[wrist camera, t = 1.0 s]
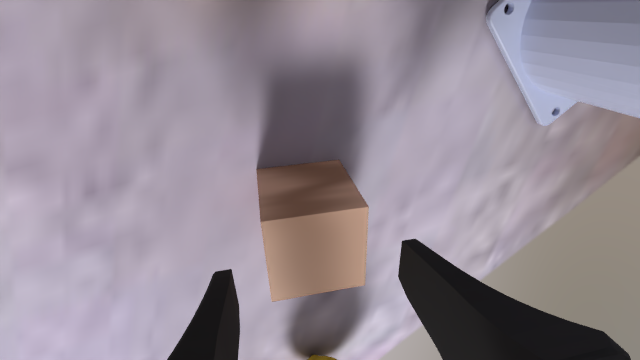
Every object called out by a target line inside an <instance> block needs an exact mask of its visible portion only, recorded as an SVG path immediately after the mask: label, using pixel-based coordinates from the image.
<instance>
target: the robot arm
mask: <svg viewBox="0 0 640 360" xmlns="http://www.w3.org/2000/svg"><path fill="white" fill-rule="evenodd" d="M507 4H508V11H507V12H506V13H504V8H505V6H506V5H507ZM486 22H487V25H488V27H489V29H490V31H491V33H492V35H493V37H494V39H495V41H496V43H497V45H498V47H499V49H500V51H501V53H502V55H503V56H504V58H505V60H506V62H507V64H508V66H509V68H510V70H511V72H512V74H513V76H514V78H515V80H516V82H517V84H518V86H519V88H520V90H521V92H522V94H523V96H524V98H525V100H526V102H527V104H528V106H529V108H530V110H531V112H532V114H533V116H534V118H535V120H536V122H537V123H538V124H541V125H544V126H546V125H549V124H550V123H552V122H553V121H554V120H555V119H557V118H558V117H559V116H560V115H562V114H563V113H564V112H565V111H567V110H568V109H569V108H570V107H571V106H573V105H574V104H575V103H576V102H578V101H580V102H583V103H587V104H590V105H594V106H598V107H601V108H605V109H608V110H612V111H616V112H619V113H623V114H626V115H630V116H634V117H637V118H640V0H499V1H498V2H497V3H496V4H495V5H494V6H493V7H492V8H491V9H490V10H489V11H488V14H487V16H486ZM554 108H555V109H554ZM553 109H554V111H553ZM552 111H553V112H552ZM398 277H399V280H400V282H401V284H402V287H403V289H404V291H405V294H406V296H407V298H408V300H409V301H410V303H411V305H412V307H413V308H414V310H415V312H416V313H417V315H418V317H419V319H420V320H421V322H422V324H423V325H424V327H425V329H426V330H427V332H428V333H429V335H430V337H431V339H432V340H433V342H434V344H435V345H436V347H437V349H438V351H439V353H440V355H441V357H442V359H443V360H631V359H630V356H629V354H628V353H627V352H626V351H624V349H622V348H621V347H620V346H619V345H618V344H617V343H615V342H614V341H613V340H612V339H611V338H610V337H609V336H608V335H607V334H605V333H604V332H603V331H600V330H596V329H593V328H590V327H587V326H583V325H580V324H577V323H574V322H570V321H567V320H565V319H562V318H559V317H556V316H554V315H551V314H548V313H545V312H543V311H540V310H538V309H536V308H533V307H531V306H529V305H526V304H524V303H522V302H519V301H517V300H515V299H513V298H511V297H509V296H506V295H504V294H503V293H500V292H499V291H497V290H495V289H493V288H491V287H489V286H487V285H485V284H484V283H482V282H480V281H478V280H477V279H475V278H473V277H472V276H470V275H468V274H467V273H465V272H464V271H462V270H460V269H459V268H457V267H456V266H454V265H453V264H451V263H450V262H448V261H447V260H445V259H444V258H442V257H441V256H440V255H438V254H437V253H435V252H434V251H432V250H431V249H430V248H428V247H427V246H425V245H424V244H422V243H421V242H419V241H418V240H416V239H411V240H405V241H402V247H401V256H400V265H399V274H398ZM239 335H240V320H239V303H238V299H237V294H236V289H235V284H234V279H233V275H232V270H231V269H229V270H223V271H217V272H215V273H214V274H213V276H212V279H211V281H210V284H209V286H208V288H207V291H206V293H205V295H204V297H203V299H202V301H201V303H200V305H199V307H198V309H197V311H196V313H195V315H194V317H193V319H192V320H191V322H190V324H189V326H188V327H187V329H186V331H185V332H184V334H183V336H182V338H181V339H180V341H179V342H178V344H177V345H176V347H175V349H174V350H173V352H172V353H171V355H170V356H169V357H168V359H167V360H238V349H239Z"/></svg>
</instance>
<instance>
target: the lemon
mask: <svg viewBox="0 0 640 360" xmlns="http://www.w3.org/2000/svg"><path fill="white" fill-rule="evenodd" d="M308 360H337V359H335V358H332V357H328V356H318V355H312V356H311V357H310V358H309V359H308Z"/></svg>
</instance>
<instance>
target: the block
mask: <svg viewBox="0 0 640 360" xmlns="http://www.w3.org/2000/svg"><path fill="white" fill-rule="evenodd" d="M257 181H258V194H259V207H260V220H261V228H262V235H263V242H264V249H265V256H266V264H267V271H268V278H269V285H270V292H271V299H272V302H274V301H280V300H286V299H291V298H297V297H302V296H308V295H313V294H319V293H324V292H330V291H335V290H341V289H346V288H352V287H357V286H363V285H365V274H366V252H367V231H368V209H369V207H368V205H367V203H366V202H365V200H364V199H363V197H362V195H361V194H360V192H359V191H358V189H357V187H356V186H355V184H354V183H353V181H352V180H351V178H350V176H349V175H348V173H347V172H346V170H345V168H344V167H343V165H342V164H341V162H340V160H332V161H323V162H315V163H306V164H297V165H288V166H280V167H271V168H262V169H257Z"/></svg>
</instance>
